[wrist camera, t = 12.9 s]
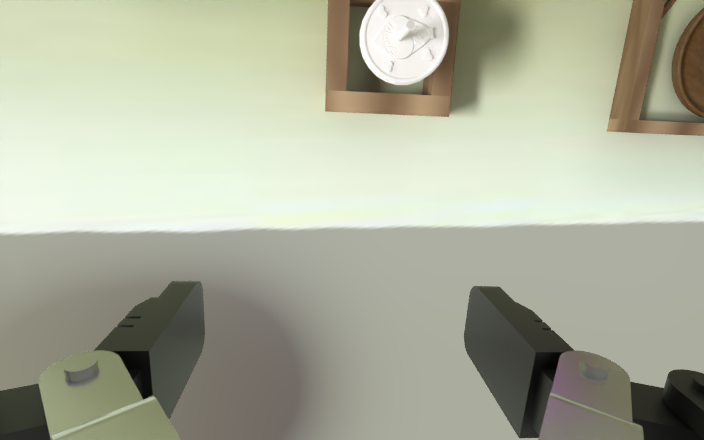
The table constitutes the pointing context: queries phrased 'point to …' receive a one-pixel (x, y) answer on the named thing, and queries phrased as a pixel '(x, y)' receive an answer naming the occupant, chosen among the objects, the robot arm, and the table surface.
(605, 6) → the table surface
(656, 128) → the tray rim
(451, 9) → the holder
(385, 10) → the smoothie
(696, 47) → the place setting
